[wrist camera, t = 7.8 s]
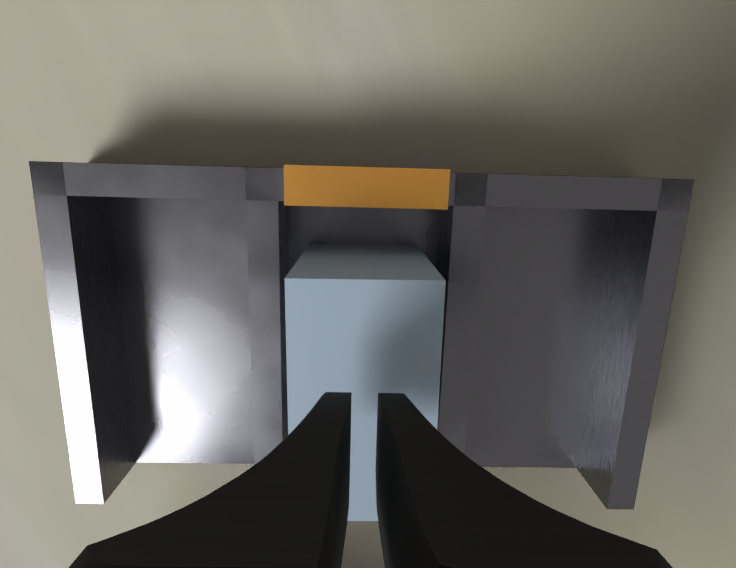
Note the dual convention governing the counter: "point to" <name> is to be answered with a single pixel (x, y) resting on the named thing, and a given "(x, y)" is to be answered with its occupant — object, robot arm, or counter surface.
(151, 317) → the rack
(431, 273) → the rectangular block
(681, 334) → the counter surface
